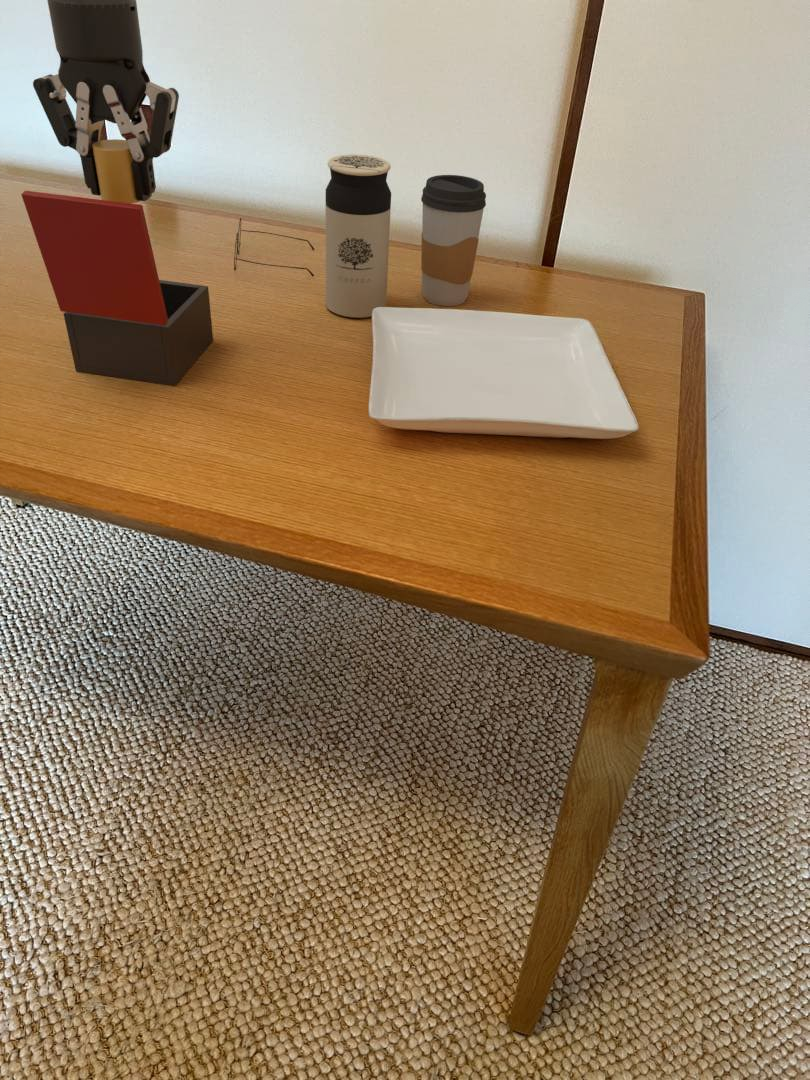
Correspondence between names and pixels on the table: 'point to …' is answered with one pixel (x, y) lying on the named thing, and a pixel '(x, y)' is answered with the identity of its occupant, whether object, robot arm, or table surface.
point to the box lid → (97, 256)
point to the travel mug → (357, 235)
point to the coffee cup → (450, 236)
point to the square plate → (494, 375)
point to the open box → (145, 339)
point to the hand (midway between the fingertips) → (122, 195)
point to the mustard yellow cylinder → (115, 171)
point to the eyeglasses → (260, 263)
